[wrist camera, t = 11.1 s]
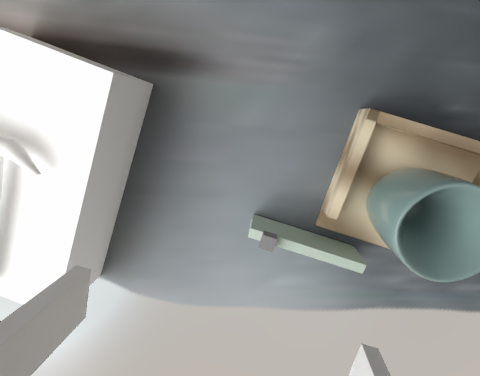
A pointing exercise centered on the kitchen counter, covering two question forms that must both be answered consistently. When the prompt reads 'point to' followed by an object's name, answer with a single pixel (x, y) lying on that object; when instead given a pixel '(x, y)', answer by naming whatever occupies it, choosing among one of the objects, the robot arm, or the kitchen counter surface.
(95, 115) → the tissue box
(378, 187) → the cup
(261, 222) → the gate
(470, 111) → the kitchen counter surface
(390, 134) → the tray
